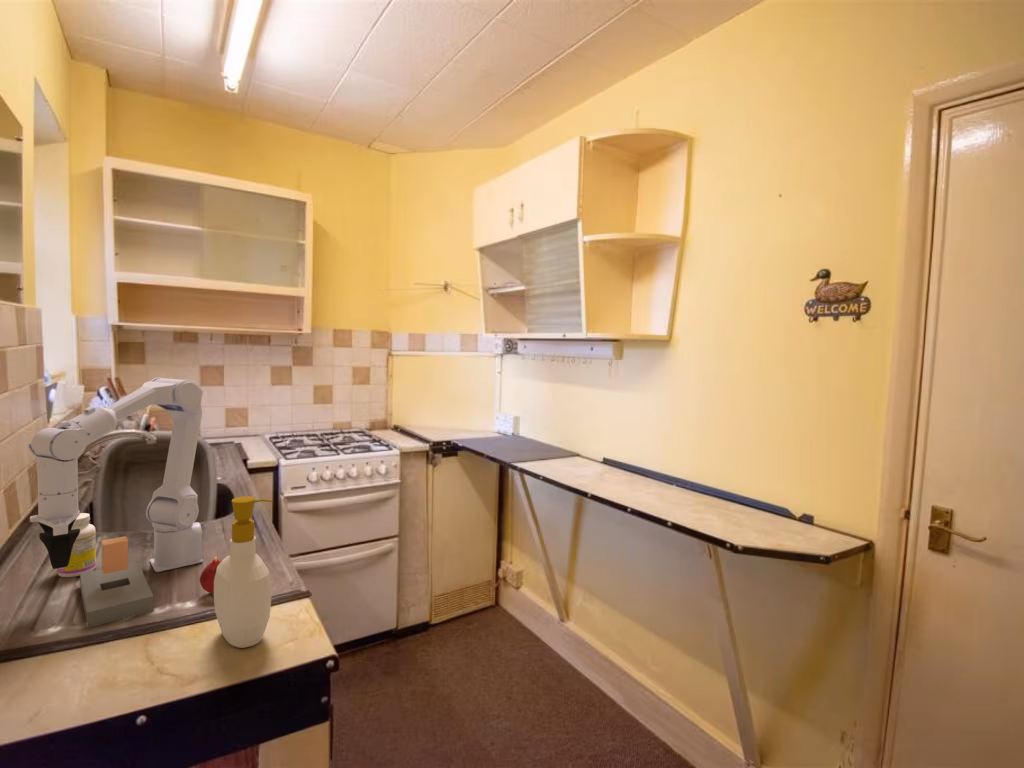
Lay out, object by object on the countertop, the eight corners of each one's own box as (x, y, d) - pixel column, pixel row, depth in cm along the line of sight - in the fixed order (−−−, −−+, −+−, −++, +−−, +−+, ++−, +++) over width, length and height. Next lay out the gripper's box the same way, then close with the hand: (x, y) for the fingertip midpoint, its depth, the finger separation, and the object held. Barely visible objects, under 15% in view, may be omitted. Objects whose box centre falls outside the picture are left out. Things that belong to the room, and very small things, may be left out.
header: (137, 574, 115) (137, 561, 115) (153, 610, 101) (153, 595, 101) (80, 586, 108) (79, 573, 108) (87, 628, 94) (87, 612, 94)
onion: (237, 591, 110) (238, 555, 109) (212, 603, 105) (212, 565, 104) (219, 585, 112) (219, 549, 112) (193, 596, 107) (193, 559, 106)
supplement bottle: (58, 569, 115) (57, 514, 114) (96, 563, 120) (95, 509, 119) (56, 581, 110) (55, 523, 109) (96, 573, 114) (95, 518, 113)
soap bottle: (286, 643, 92) (288, 502, 90) (233, 664, 86) (234, 513, 84) (254, 612, 102) (255, 484, 100) (204, 629, 95) (204, 493, 93)
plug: (126, 564, 107) (126, 536, 106) (128, 569, 104) (128, 540, 104) (101, 569, 104) (101, 540, 103) (103, 574, 102) (103, 545, 101)
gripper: (29, 485, 99) (30, 552, 100) (29, 504, 89) (31, 579, 90) (76, 480, 104) (77, 544, 105) (82, 497, 94) (83, 569, 95)
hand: (59, 560), depth 98 cm, fingers open, 7 cm apart
